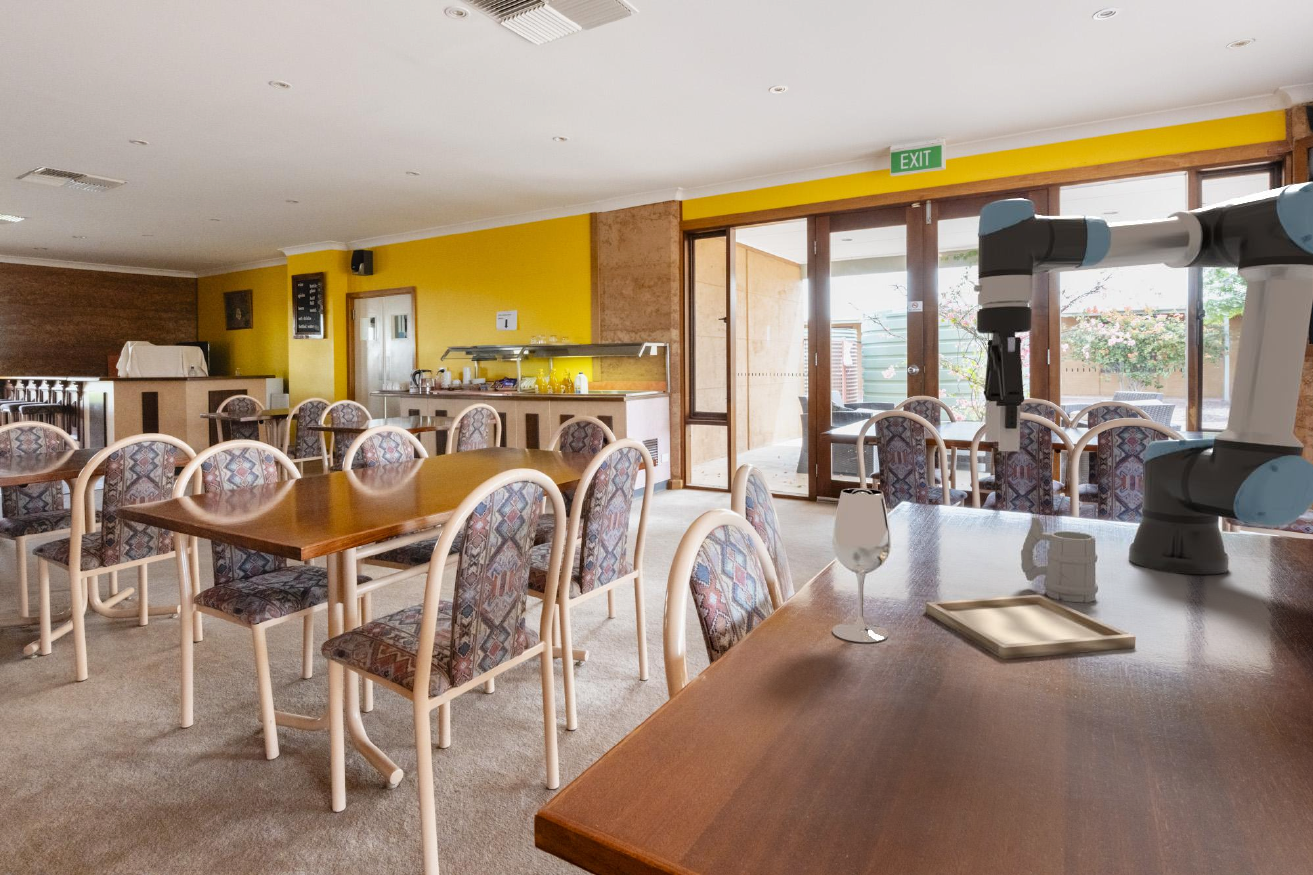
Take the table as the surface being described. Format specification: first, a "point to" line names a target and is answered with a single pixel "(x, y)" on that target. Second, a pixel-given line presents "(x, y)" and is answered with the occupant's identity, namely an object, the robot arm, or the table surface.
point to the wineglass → (861, 550)
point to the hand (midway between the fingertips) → (1001, 446)
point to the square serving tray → (1028, 626)
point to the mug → (1063, 563)
